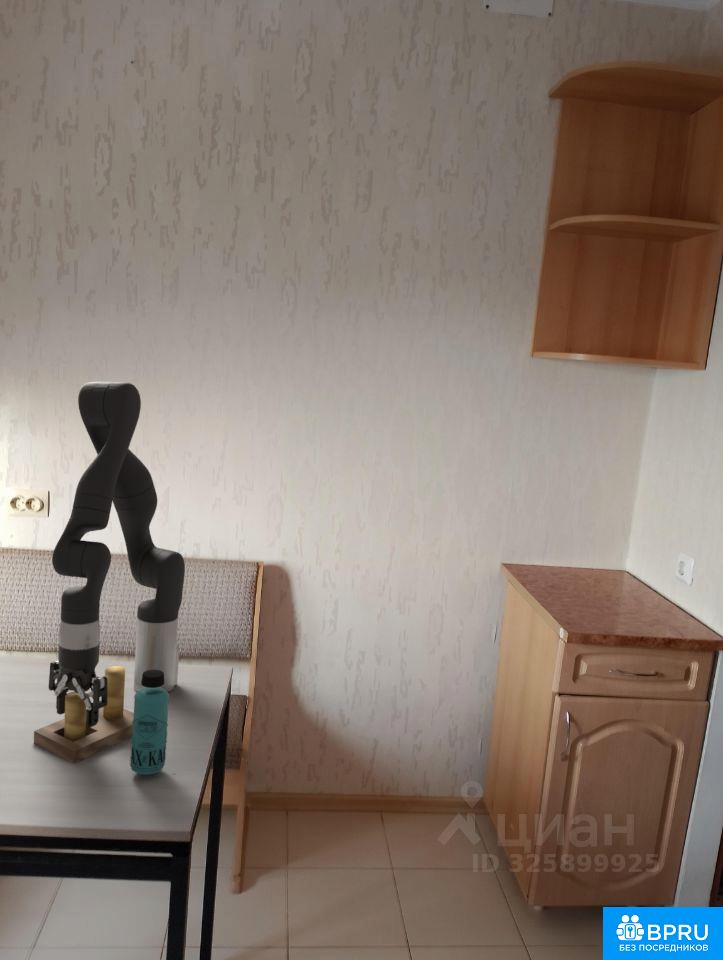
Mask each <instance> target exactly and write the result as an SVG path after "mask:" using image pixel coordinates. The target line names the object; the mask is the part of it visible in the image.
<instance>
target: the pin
mask: <svg viewBox="0 0 723 960" xmlns="http://www.w3.org/2000/svg"><path fill="white" fill-rule="evenodd" d="M86 709H87V707H86V704H85V702H84V700H81V698H80V696H79V694H78V693H76V692H75V691H71V692H67V694H66V696H65V713H64V719H65V723H64V738H66V739H68V740H70V741H72V742H74V741H76V740H79V739H81V738H83V737H85V736H86Z"/></svg>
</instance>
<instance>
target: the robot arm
mask: <svg viewBox="0 0 723 960" xmlns="http://www.w3.org/2000/svg"><path fill="white" fill-rule="evenodd" d="M77 405H78V409H79V414H80V417H81V420H82V423H83V425H84V427H85V430H86V432H87V434H88V436H89V439H90V440H91V443H92V445H93V447H94V449H95V452H96V454H97V455H96V456H95V458H94V459H93V460H92V462H91V463H90V464H89V465H88V467H87V468H86V469H85V470H84V472H83V473H82V475H81V477H80V479H79V480H78V484H77V486H76V489H75V493H74V494H75V495H74V498H73V504H72V509H71V514H70V517H69V519H68V521H67V524H66V525H65V528H64V530H63V532H62V534H61V536H60V537H59V540H58V541H57V543H56V545H55V547H54V549H53V553H52V556H51V558H52V559H51V563H52V566H53V567H52V568H53V569H54V571H55V572H56V573H57V574H58V575H60V576H65V577H75V578H83V579H86V584H85V585H79V586H72V587H69V588H67V589H65V590H64V591H63V592H62V594H61V602H60V603H61V604H60V623H59V630H58V653H57V660H56V661H52V662H50V663H49V674H48V675H49V676H48V677H49V678H48V690H49V691H50V692H51V691H53V692H54V695H55V696H56V702H55V705H56V706H55V707H56V714H58V715H60V716H61V715H63V714H64V715H65V696H66V694H68V693H69V691H71V692H76V693H78V694H79V696H80V698H81V700H84V702H85V704H86V726H87V727H89V728H90V727H92V726H95V725H96V724H97V723H98V717H99V709H100V708H102V707H104V706H107V704H108V699H107V677H106V676H105V675H104V676H102V677H100V676H97V673H96V667H97V665H98V664H99V662H100V643H101V642H100V641H101V640H100V636H101V625H100V607H101V606H100V604H101V603H100V601H101V595H102V591H103V587H104V584H105V581H106V578H107V574H108V572H109V570H110V567H111V562H112V553H111V551H110V549H109V547H108V545H107V544H106V543H104V542H100V541H93V540H92V541H90V540H82V538H83V537H84V536H85V535H86V534H88V533H90V532H95V531H102V530H104V529H106V528H107V527H108V524H109V520H110V516H111V511H112V510H111V509H112V506H113V507H114V509H115V511H116V515H117V517H118V521H119V524H120V528H121V531H122V535H123V539H124V543H125V548H126V552H127V558H128V564H129V569H130V572H131V575H132V577H133V579H134V581H135V582H136V583H137V584H138V585H141V586H143V587H147V588H151V589H155V598H153V599H148V600H145V601H142V602H141V603H139V604H138V606H137V614H136V633H135V634H136V636H135V650H134V651H135V654H134V656H135V657H134V670H133V671H134V674H133V676H134V677H133V689H134V690H135V691H136V693H137V692H138V691H139V690H140V689H142V688H143V687H144V686H142V684H141V680H142V674H143V672H145V671H147V670H160V671H162V672H163V673H164V685H163V686H161V687H162V688H163V689H164V690H165V691H167V692H168V693H170V692H171V691H172V690H174V688H175V686H177V685H178V679H179V661H180V659H179V658H180V647H179V645H177V641H178V640H177V638H178V624H179V612H180V608H181V605H182V600H183V591H184V585H185V584H184V583H185V575H186V564H185V560H184V557H183V555H182V554H181V553H180V552H177V551H176V550H170V549H166V548H165V549H164V548H161V547H157V546H156V545H155V544H154V541H153V538H152V535H151V531H150V525H151V523H152V520H153V518H154V515H155V513H156V510H157V507H158V495H157V491H156V488H155V484H154V480H153V477H152V474H151V472H150V471H149V469H148V467H146V465H145V464H144V463H143V462H142V460H140V458H138V457H137V455H136V454H135V453H134V452H133V451H132V450H130V449H129V448H130V445H131V442H132V439H133V437H134V434H135V430H136V429H137V424H138V422H139V418H140V415H141V409H142V400H141V394H140V392H139V390H138V388H137V387H136V386H135V385H134V384H133V383H131V382H127V381H91V382H89V381H88V382H86V383H85V384H83V385H82V386H81V388H80V389H79V391H78V397H77ZM89 690H90V692H87V691H89ZM86 692H87V693H86ZM91 698H92V700H91Z"/></svg>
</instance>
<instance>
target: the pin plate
mask: <svg viewBox="0 0 723 960" xmlns="http://www.w3.org/2000/svg"><path fill="white" fill-rule="evenodd" d="M104 676H106V677H107V699H108V704H107V706H104V707H102V708H100V709H99V717H98V723H97V724H96V725H95V726H92V727H90V728H89V727H87V726H86V736H85V737H83V738H81V739H79V740H76V741H74V742H72V741H70V740H68V739H66V738H64V723H65V718H62V719H60V720H58V721H55V722H53V723H51V724H48V725H46V726H43V727H41V728H38V729H35V730H33V743H34V744H35V745H37V746H38V747H41V748H42V749H43V748H44V749H45V750H48V752H51V753H53V754H55V755H58V756H59V757H62V758H63V759H65V760H68V761H70V762H72V763H73V764H76V763H79V762H80V761H82V760H85V759H87V758H88V757H92V755H94V754H97V753H99V752H101V751H103V750H105V749H108V748H110V747H112V746H114V745H117V744H118V743H120V742H123V741H125V740H126V739H129V738H132V736H131V735H132V733H131V732H132V730H133V724H132V721H133V717H134V712H132V711H130V710H127V709H125V708H124V707H125V706H124V705H125V703H124V702H125V683H126V668H125V667H124V666H120V665H113V666H112V665H111V666H108V667H106V668H105V669H104Z"/></svg>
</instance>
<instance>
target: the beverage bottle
mask: <svg viewBox="0 0 723 960" xmlns="http://www.w3.org/2000/svg"><path fill="white" fill-rule="evenodd" d="M141 684H142V686H144V687H143V688H142V689H140V690H139V691H138V692H137V691H136V692H135V694H134V699H133V700H134V701H133V702H134V703H133V713H134V717H133V721H132V724H133V730H132V732H131V733H132V735H131V738H130V741H131V742H130V745H131V746H130V752H129V753H130V756H129V757H130V758H129V762H130V764H129V765H130V768H131V770H132V772H134V773H136V774H139V775H152V774H156V773H159V772H161V771H162V770H163V768H164V766H165V765H166V762H167V761H166V759H167V757H166V756H167V753H166V752H167V743H168V742H167V741H168V739H167V738H168V732H169V731H168V726H169V723H168V716H169V714H168V713H169V700H170V694H169V692H167V691H165V690H164V689H163V688H162V687H161V686H163V685H164V673H163V672H162V671H160V670H147V671H145V672H143V674H142V680H141Z"/></svg>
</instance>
